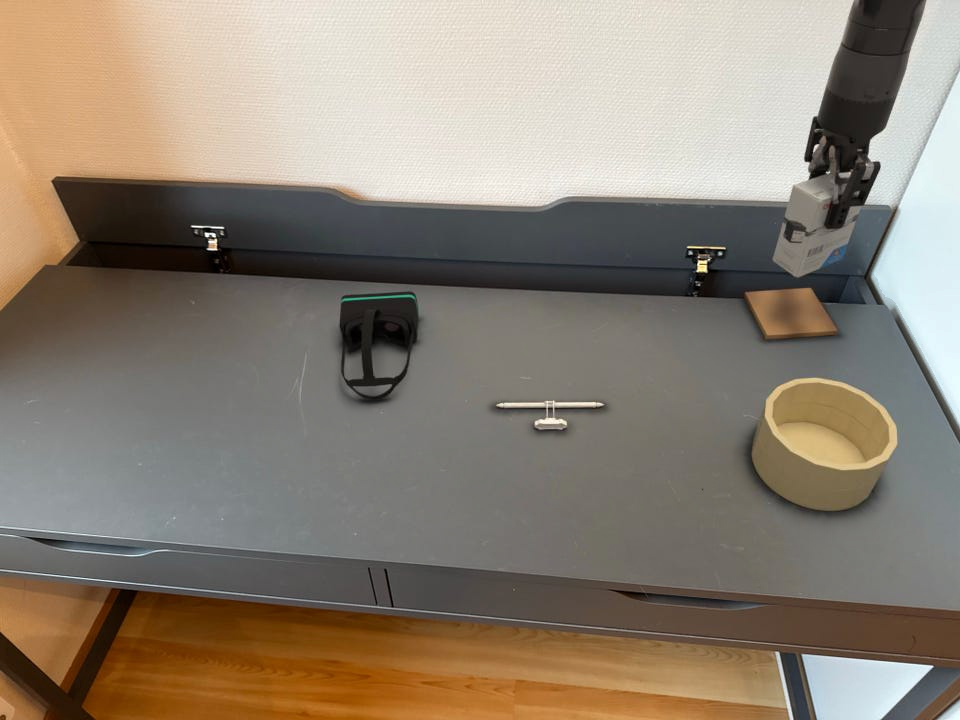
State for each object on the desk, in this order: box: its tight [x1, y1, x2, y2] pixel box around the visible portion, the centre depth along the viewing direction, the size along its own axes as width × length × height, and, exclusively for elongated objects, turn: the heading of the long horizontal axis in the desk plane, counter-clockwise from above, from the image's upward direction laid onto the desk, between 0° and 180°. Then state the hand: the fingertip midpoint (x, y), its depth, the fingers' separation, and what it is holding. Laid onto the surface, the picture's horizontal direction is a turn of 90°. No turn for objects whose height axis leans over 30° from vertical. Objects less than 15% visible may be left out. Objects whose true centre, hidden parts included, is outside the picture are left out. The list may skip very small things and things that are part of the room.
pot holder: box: [743, 287, 839, 340], centre depth 103 cm, size 10×10×1 cm
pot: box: [751, 377, 899, 512], centre depth 81 cm, size 14×14×8 cm
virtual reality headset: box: [338, 290, 420, 401], centre depth 97 cm, size 11×17×10 cm, turn 2°
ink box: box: [772, 172, 862, 278], centre depth 92 cm, size 8×5×12 cm, turn 116°
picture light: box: [495, 399, 604, 431], centre depth 90 cm, size 14×4×2 cm, turn 88°
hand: (822, 212), depth 91 cm, fingers closed on ink box, 6 cm apart
